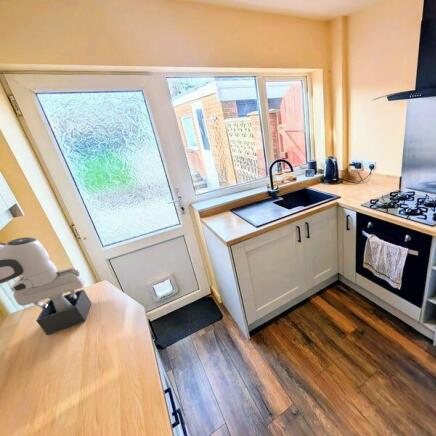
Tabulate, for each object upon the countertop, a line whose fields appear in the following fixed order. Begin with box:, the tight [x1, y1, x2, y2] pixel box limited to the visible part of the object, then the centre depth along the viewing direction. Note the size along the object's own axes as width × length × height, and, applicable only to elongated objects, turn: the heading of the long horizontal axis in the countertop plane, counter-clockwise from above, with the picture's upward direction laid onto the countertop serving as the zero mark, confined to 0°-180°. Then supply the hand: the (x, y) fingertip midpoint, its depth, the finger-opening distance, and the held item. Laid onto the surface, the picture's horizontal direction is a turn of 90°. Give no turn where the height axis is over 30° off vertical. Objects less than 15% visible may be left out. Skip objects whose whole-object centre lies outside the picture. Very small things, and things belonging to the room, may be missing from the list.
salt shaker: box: [48, 293, 74, 312], centre depth 101 cm, size 6×6×13 cm
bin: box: [36, 289, 92, 336], centre depth 103 cm, size 13×13×8 cm
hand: (60, 303), depth 101 cm, fingers open, 8 cm apart
